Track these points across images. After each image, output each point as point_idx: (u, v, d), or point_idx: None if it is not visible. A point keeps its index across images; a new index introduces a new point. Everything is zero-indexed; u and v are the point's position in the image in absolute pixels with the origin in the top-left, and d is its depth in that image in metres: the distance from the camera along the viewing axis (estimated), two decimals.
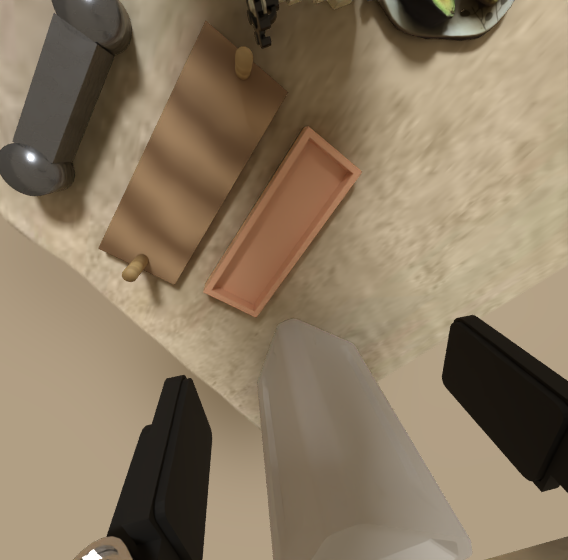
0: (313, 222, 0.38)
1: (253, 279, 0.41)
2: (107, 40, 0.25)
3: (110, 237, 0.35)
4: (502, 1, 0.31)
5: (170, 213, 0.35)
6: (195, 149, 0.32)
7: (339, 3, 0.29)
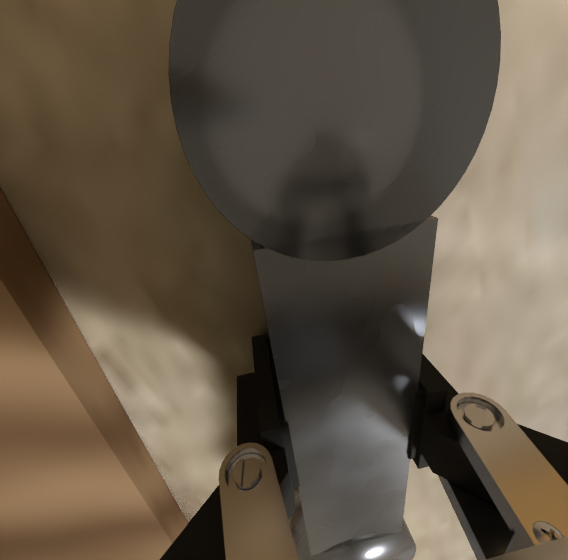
0: None
1: None
2: (299, 554, 0.11)
3: None
4: None
5: None
6: (6, 506, 0.10)
7: None
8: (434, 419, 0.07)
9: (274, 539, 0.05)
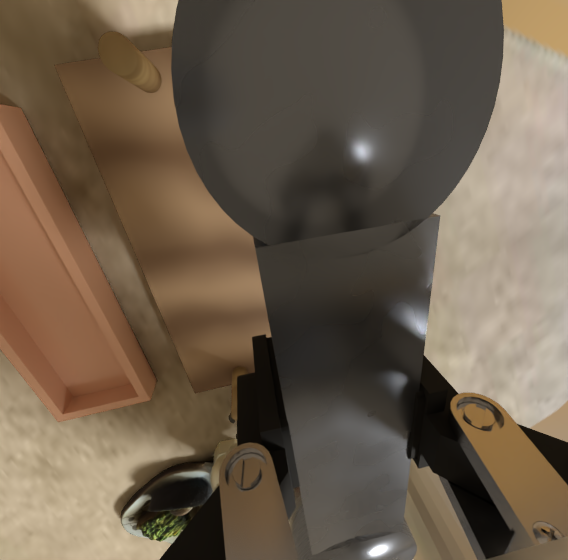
0: (26, 338, 0.24)
1: None
2: (300, 553, 0.11)
3: None
4: (134, 526, 0.38)
5: (180, 198, 0.21)
6: (221, 291, 0.24)
7: (218, 453, 0.34)
8: (434, 419, 0.07)
9: (274, 539, 0.05)
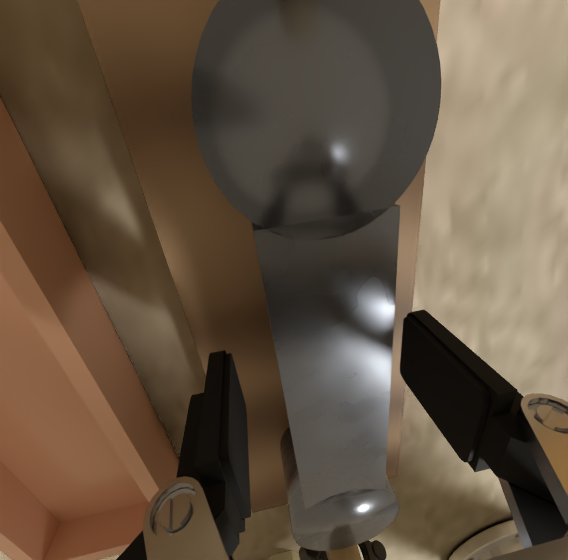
0: None
1: None
2: (295, 509, 0.12)
3: None
4: None
5: None
6: None
7: None
8: (501, 421, 0.07)
9: None
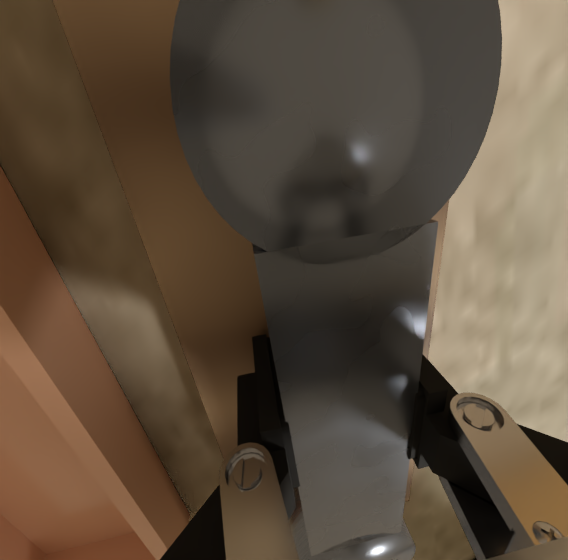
0: None
1: None
2: (299, 554, 0.11)
3: None
4: None
5: None
6: None
7: None
8: (434, 419, 0.07)
9: (274, 539, 0.05)
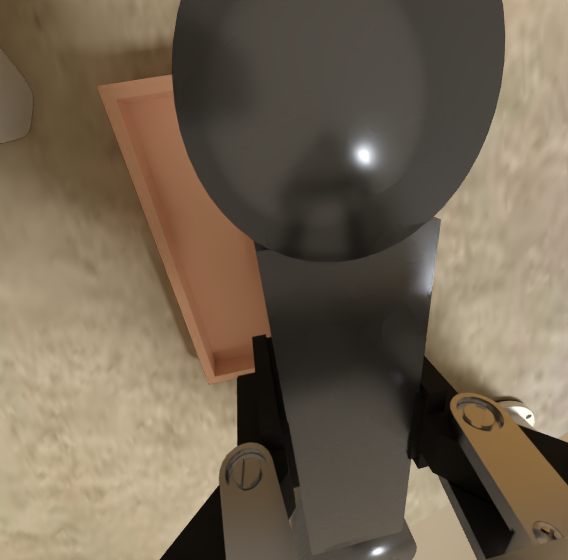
0: (193, 301, 0.25)
1: (180, 156, 0.20)
2: (300, 553, 0.11)
3: None
4: None
5: None
6: None
7: None
8: (434, 419, 0.07)
9: (274, 539, 0.05)
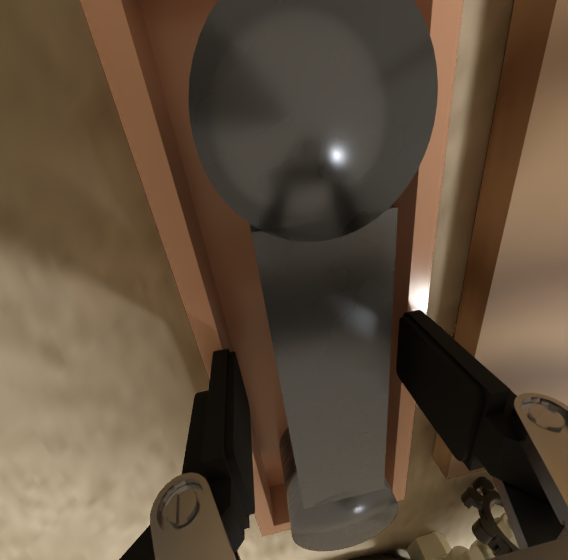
0: None
1: None
2: (294, 510, 0.12)
3: None
4: None
5: None
6: None
7: (422, 557, 0.24)
8: (494, 420, 0.07)
9: None
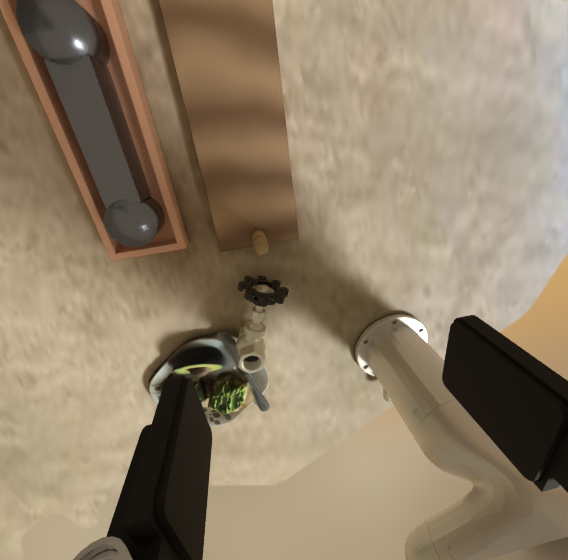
0: (92, 182, 0.30)
1: None
2: (105, 215, 0.29)
3: None
4: None
5: (223, 60, 0.27)
6: (248, 151, 0.31)
7: (239, 334, 0.41)
8: None
9: None
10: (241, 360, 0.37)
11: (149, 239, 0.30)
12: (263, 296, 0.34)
